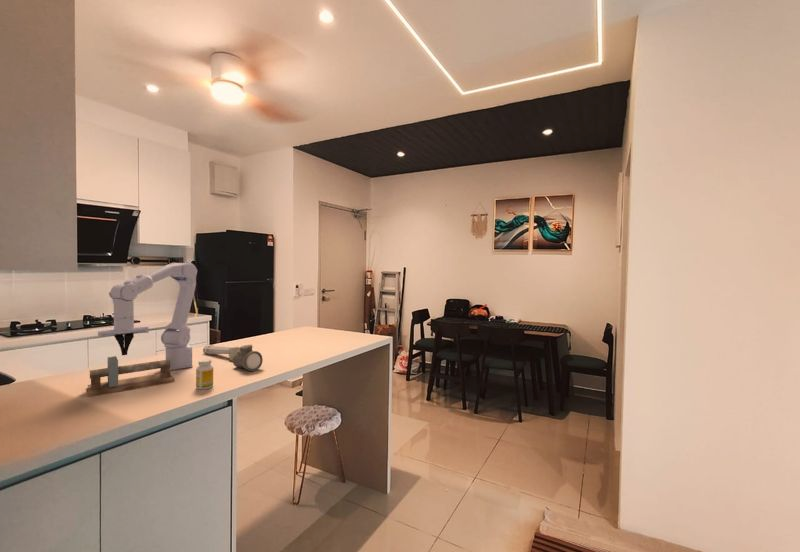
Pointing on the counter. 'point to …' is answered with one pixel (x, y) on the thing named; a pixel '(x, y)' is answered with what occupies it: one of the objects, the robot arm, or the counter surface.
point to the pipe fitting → (248, 358)
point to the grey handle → (221, 350)
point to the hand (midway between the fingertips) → (124, 354)
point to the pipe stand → (130, 383)
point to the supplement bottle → (204, 374)
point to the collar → (113, 371)
